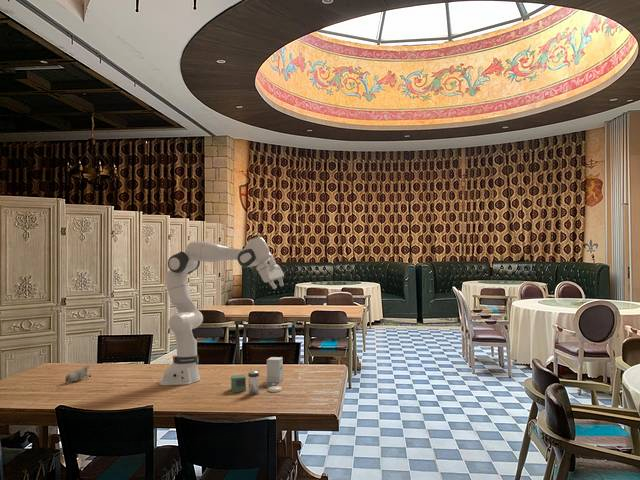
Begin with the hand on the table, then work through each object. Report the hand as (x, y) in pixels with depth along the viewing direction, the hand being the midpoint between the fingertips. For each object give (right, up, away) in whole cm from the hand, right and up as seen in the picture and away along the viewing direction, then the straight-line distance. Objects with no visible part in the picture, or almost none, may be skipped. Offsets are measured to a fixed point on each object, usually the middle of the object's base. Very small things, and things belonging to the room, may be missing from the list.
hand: (278, 287), depth 271 cm
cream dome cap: (-1, -52, -9) cm, 53 cm away
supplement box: (-3, -53, +9) cm, 54 cm away
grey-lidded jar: (-12, -52, -14) cm, 55 cm away
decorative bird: (-117, -56, +19) cm, 131 cm away
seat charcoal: (-5, -53, -1) cm, 53 cm away
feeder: (-21, -53, -7) cm, 57 cm away
